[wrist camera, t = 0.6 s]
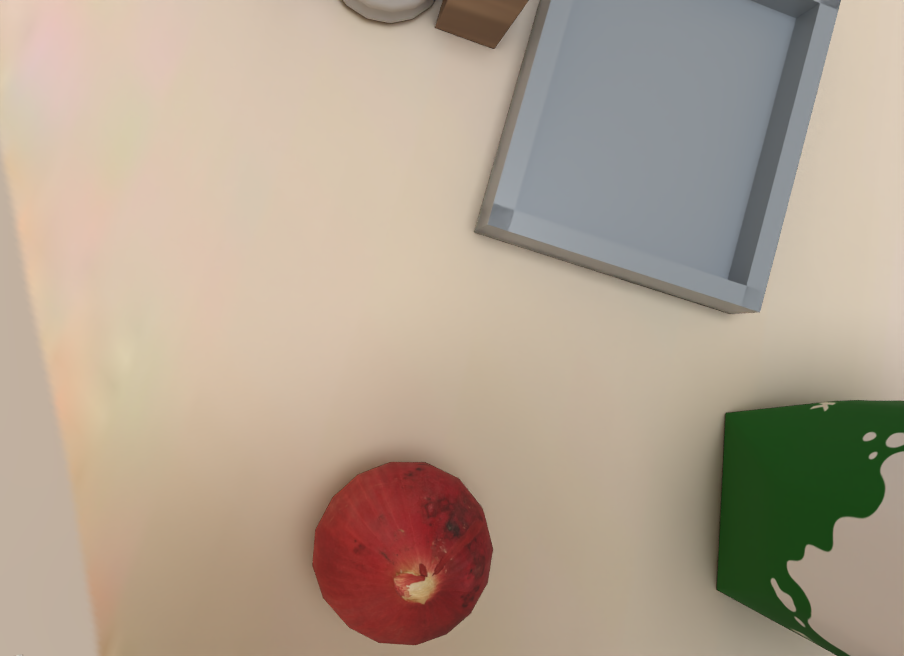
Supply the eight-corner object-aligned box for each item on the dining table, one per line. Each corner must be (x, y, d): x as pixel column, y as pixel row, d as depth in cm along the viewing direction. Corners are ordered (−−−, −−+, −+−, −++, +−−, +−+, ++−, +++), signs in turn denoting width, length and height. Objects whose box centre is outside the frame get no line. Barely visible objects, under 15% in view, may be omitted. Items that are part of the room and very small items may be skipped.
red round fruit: (401, 416, 32) (439, 441, 24) (496, 532, 33) (563, 592, 25) (278, 520, 31) (275, 581, 23) (378, 637, 32) (408, 734, 24)
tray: (730, 313, 35) (759, 312, 33) (474, 232, 33) (487, 224, 31) (809, 12, 36) (843, -9, 33) (564, -85, 34) (583, -114, 32)
